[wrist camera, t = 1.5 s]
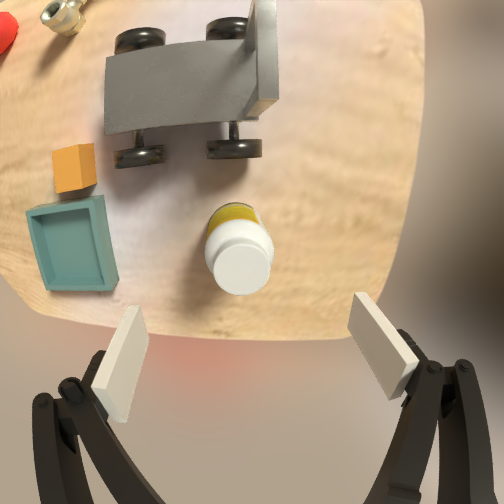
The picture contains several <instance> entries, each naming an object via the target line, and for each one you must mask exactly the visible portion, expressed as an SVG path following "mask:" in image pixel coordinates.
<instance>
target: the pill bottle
mask: <svg viewBox="0 0 504 504" xmlns="http://www.w3.org/2000/svg"><path fill="white" fill-rule="evenodd" d="M204 254H205V261H206V264H207V267H208V269H209V270H210V272H211V273H212V274H213V275H214V278H215V281H216V282H217V284H218V285H219V286H220V287H221V288H222V289H223V290H224V291H226V292H228V293H230V294H233V295H249V294H252V293H254V292H257V291H258V290H260V289H261V288H262V287H263V286H264V285H265V284H266V282H267V280H268V278H269V275H270V267H271V265H272V262H273V258H274V246H273V242H272V240H271V237H270V235H269V233H268V231H267V229H266V227H265V225H264V223H263V221H262V219H261V217H260V215H259V214H258V212H257V211H256V210H255V209H254V208H252V207H251V206H249V205H247V204H244V203H239V202H233V203H228V204H225V205H223V206H221V207H220V208H219V209H217V210H216V211H215V213H214V214H213V215H212V217H211V219H210V222H209V226H208V232H207V238H206V244H205V253H204Z"/></svg>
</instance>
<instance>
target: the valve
mask: <svg viewBox="0 0 504 504" xmlns="http://www.w3.org/2000/svg"><path fill="white" fill-rule="evenodd" d="M86 2H87V0H67V2H65V1H64V0H55V1H53V2H51V3H50V4H48V5H47V7H46V8H45V9H44V11H43V12H42V14H41V16H40V19H41V21H42V23H43V24H44V25H46V26H47V27H49V28H50V29H51V30H52V31H53V32H56V33H62V34H63V35H65V36H66V37H68V36H71V35H74V34H76V33H78V32H79V31H80V30H81V28H82V27H83V25H84V24H85V22H86V20H85V18H84V16H83V15H82V14H81V13H80V12H79V8H80V6H83V5H84V4H85V3H86Z"/></svg>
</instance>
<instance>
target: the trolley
mask: <svg viewBox="0 0 504 504" xmlns="http://www.w3.org/2000/svg"><path fill="white" fill-rule="evenodd" d="M165 39H166V34H165V32H164V31H162V30H160V29H157V28H151V27H143V28H135V29H131V30H127V31H125V32H123V33H121V34H119V35H118V36H117V37H116V41H115V52H114V54H115V55H114V56H110V57H106V69H105V95H104V120H105V135H113V134H119V133H124V132H134V144H135V148H134V149H127V150H121V151H116V152H114V162H115V169H121V168H129V167H137V166H144V165H151V164H157V163H163V162H166V152H165V145H159V146H149V147H144V139H143V130H144V129H150V128H158V127H166V126H175V125H186V124H198V123H213V122H229V140H217V141H207V159H237V158H257V157H262V140H261V139H241V140H239V122H241V121H258V120H259V115H260V114H262V113H263V112H264V111H265V110H266V109H268V108H269V107H270V106H271V105H272V104H274V103H275V102H276V101H277V100H279V73H278V43H277V20H276V1H275V0H252V2H251V7H250V12H249V16H248V18H243V17H226V18H221V19H217V20H214V21H212V22H210V23H209V24H208V25H207V26H206V41H196V42H186V43H177V44H170V45H165Z"/></svg>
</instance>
